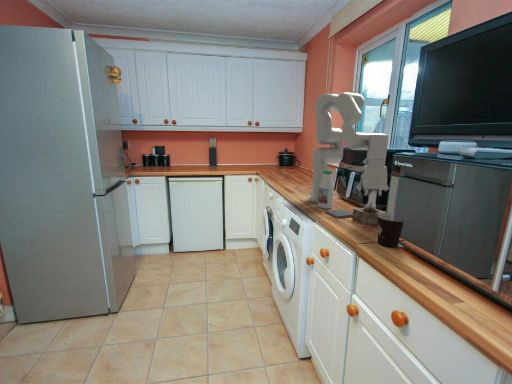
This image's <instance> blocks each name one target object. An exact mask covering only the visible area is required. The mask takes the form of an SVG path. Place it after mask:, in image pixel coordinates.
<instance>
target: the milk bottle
mask: <svg viewBox="0 0 512 384" xmlns="http://www.w3.org/2000/svg"><path fill="white" fill-rule="evenodd" d="M332 176H333V171H332V170H330V169H329V170H324V171H323V178H322V180H321V182H320V185H319V195H318V203H317V207H318V208H321V209H324V210H325V209H326V210H327V209H329V210H331V209H333V206H334V204H333V202H334V195H335V194H334V192H335V189H334V188H335V184H334V181H333V179H332Z"/></svg>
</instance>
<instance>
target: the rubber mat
mask: <svg viewBox="0 0 512 384" xmlns="http://www.w3.org/2000/svg"><path fill="white" fill-rule="evenodd" d="M324 212H325V213H326V214H328V215H330V216H331V217H334V218H336V219H344V218H351V217H352V218H353V212H350V211H347V210H344V209H343V208H341V209H340V208H339V209H329V210H327V209H326V210H324Z"/></svg>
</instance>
